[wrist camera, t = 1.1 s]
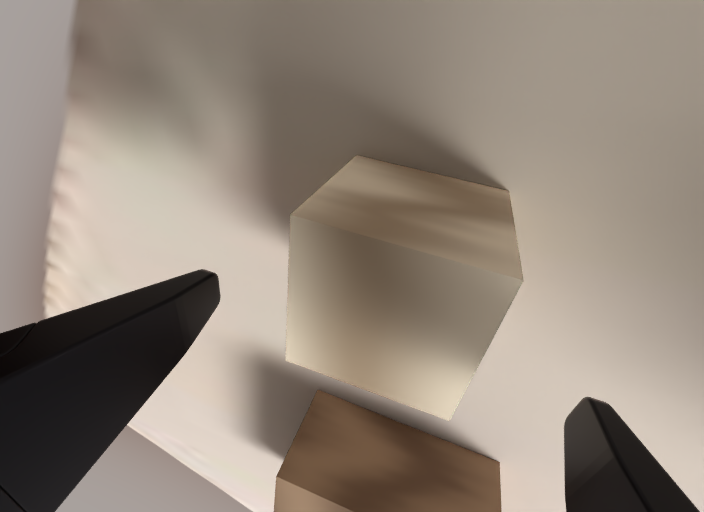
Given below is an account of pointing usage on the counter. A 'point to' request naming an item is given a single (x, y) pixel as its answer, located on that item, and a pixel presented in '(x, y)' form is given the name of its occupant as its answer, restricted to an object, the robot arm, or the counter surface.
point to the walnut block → (379, 466)
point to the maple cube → (400, 281)
